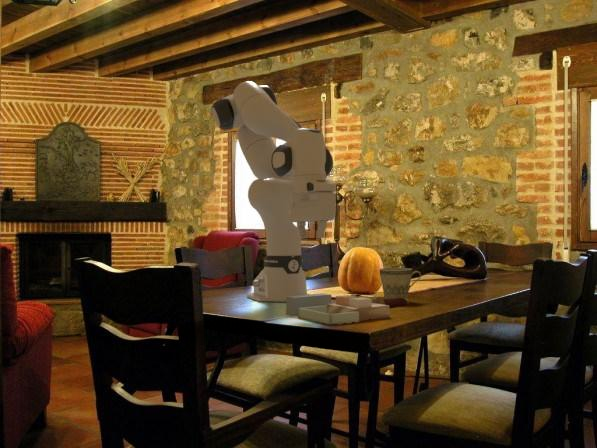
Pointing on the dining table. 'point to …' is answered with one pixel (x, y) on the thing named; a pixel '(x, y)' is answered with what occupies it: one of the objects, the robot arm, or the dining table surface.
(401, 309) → the dining table surface
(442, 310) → the dining table surface
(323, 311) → the tray
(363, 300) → the tile
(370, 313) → the pale flat square block
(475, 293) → the dining table surface
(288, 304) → the small grey box
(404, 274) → the ceramic cup
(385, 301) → the gavel
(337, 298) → the tile
